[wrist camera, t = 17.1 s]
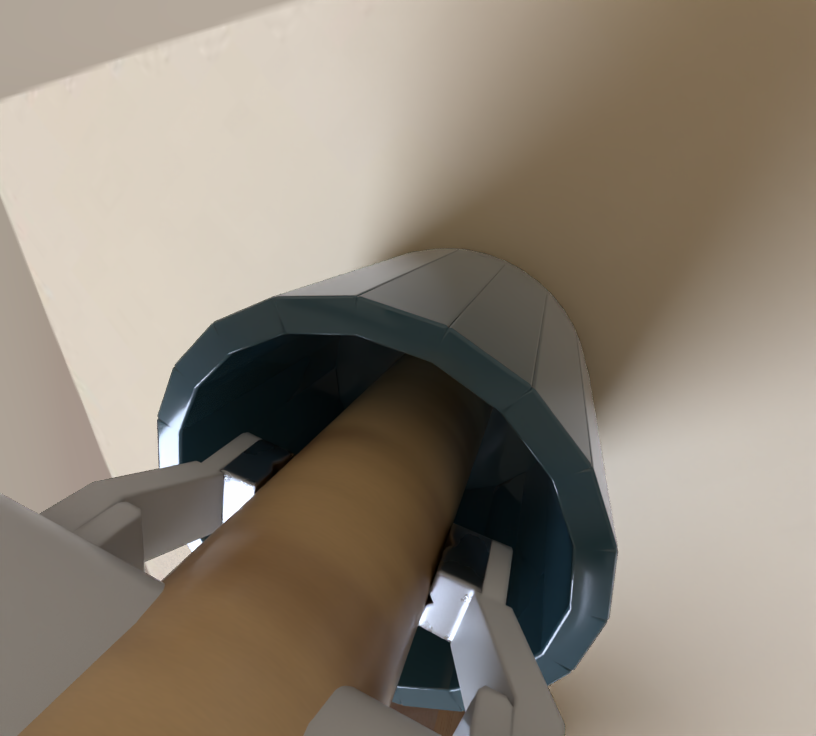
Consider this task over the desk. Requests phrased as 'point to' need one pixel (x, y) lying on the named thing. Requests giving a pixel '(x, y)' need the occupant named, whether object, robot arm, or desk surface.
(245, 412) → the crock
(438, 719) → the wooden block
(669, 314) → the desk surface
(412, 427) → the rolling pin
